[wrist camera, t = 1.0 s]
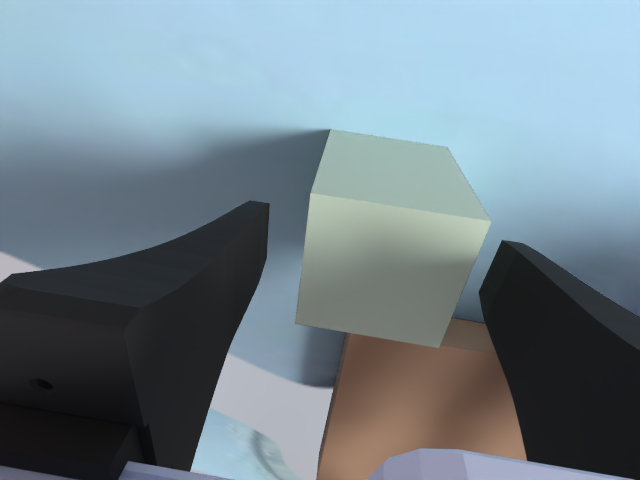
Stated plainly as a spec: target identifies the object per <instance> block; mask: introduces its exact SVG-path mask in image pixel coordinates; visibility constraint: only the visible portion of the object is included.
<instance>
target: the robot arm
mask: <svg viewBox="0 0 640 480" xmlns="http://www.w3.org/2000/svg"><path fill="white" fill-rule="evenodd" d="M268 221H269V203H263V202H256V201H248V202H246V203H244V204H242V205H241V206H239V207H237V208H235V209H234V210H232V211H230V212H228V213H227V214H225V215H223V216H221V217H220V218H218V219H216V220H214V221H212V222H211V223H208V224H206V225H204V226H202V227H200V228H198V229H196V230H194V231H192V232H190V233H188V234H186V235H184V236H181V237H179V238H176V239H174V240H171V241H169V242H166V243H163V244H161V245H158V246H155V247H152V248H149V249H145V250H142V251H138V252H135V253H131V254H127V255H124V256H120V257H116V258H112V259H108V260H103V261H98V262H93V263H88V264H83V265H77V266H71V267H65V268H57V269H49V270H41V271H33V272H26V273H16V274H11V275H10V276H9V277H7V278H6V279H5V280H3V281H2V282H1V283H0V480H233V479H227V478H221V477H216V476H210V475H204V474H198V473H192V472H190V470H191V466H192V463H193V459H194V456H195V452H196V449H197V446H198V442H199V439H200V436H201V433H202V429H203V426H204V423H205V420H206V416H207V413H208V410H209V407H210V403H211V400H212V397H213V394H214V391H215V388H216V385H217V382H218V379H219V376H220V373H221V370H222V367H223V364H224V361H225V358H226V355H227V352H228V350H229V347H230V345H231V342H232V340H233V337H234V335H235V333H236V331H237V329H238V327H239V325H240V323H241V320H242V318H243V316H244V314H245V312H246V310H247V308H248V305H249V303H250V301H251V299H252V297H253V295H254V293H255V290H256V288H257V286H258V284H259V281H260V278H261V275H262V271H263V268H264V265H265V261H266V258H267V239H268ZM479 296H480V302H481V307H482V312H483V316H484V320H485V323H486V326H487V329H488V332H489V335H490V337H491V340H492V343H493V346H494V348H495V351H496V353H497V356H498V359H499V361H500V364H501V367H502V369H503V372H504V375H505V377H506V380H507V383H508V386H509V389H510V392H511V395H512V398H513V402H514V406H515V410H516V414H517V418H518V422H519V426H520V430H521V435H522V439H523V444H524V449H525V453H526V458H527V461H523V460H517V459H512V458H506V457H500V456H494V455H488V454H482V453H476V452H471V451H465V450H459V449H417V450H413V451H410V452H407V453H403V454H400V455H397V456H393V457H390V458H388V459H387V460H386V461H385V462H383V463H382V464H381V465H380V466H379V467H378V468H377V469H376V470H375V471H374V473H373V474H372V475H371V476H370V477H369V478H368V479H367V480H640V317H638V316H637V315H635V314H633V313H631V312H630V311H628V310H626V309H624V308H623V307H621V306H619V305H618V304H616V303H615V302H613V301H611V300H610V299H608V298H607V297H605V296H603V295H602V294H600V293H599V292H597V291H595V290H594V289H592V288H591V287H589V286H588V285H586V284H585V283H583V282H582V281H580V280H579V279H577V278H576V277H574V276H573V275H571V274H570V273H569V272H567V271H566V270H564V269H563V268H561V267H560V266H558V265H557V264H555V263H554V262H552V261H551V260H549V259H548V258H546V257H545V256H543V255H542V254H540V253H539V252H537V251H536V250H534V249H532V248H531V247H529V246H527V245H525V244H523V243H518V242H511V241H505V240H502V241H501V244H500V246H499V248H498V250H497V253H496V255H495V257H494V259H493V261H492V264H491V266H490V268H489V270H488V273H487V275H486V277H485V279H484V281H483V284H482V286H481V288H480V290H479Z"/></svg>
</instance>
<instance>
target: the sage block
mask: <svg viewBox="0 0 640 480" xmlns="http://www.w3.org/2000/svg"><path fill="white" fill-rule="evenodd" d="M491 222H492V221H491V219H490V218H489V216H488V214H487V213H486V211H485V209H484V208H483V206H482V204H481V203H480V201H479V199H478V198H477V196H476V194H475V193H474V191H473V189H472V188H471V186H470V184H469V182H468V181H467V179H466V177H465V176H464V174H463V172H462V171H461V169H460V167H459V166H458V164H457V162H456V161H455V159H454V157H453V156H452V154H451V152H450V151H449V149H448V147H444V146H437V145H431V144H424V143H418V142H411V141H405V140H398V139H391V138H385V137H378V136H372V135H365V134H359V133H352V132H345V131H339V130H332V129H331V130H330V133H329V136H328V140H327V143H326V146H325V149H324V152H323V155H322V158H321V162H320V165H319V168H318V171H317V174H316V177H315V180H314V184H313V187H312V190H311V193H310V202H309V210H308V219H307V227H306V236H305V244H304V253H303V261H302V270H301V278H300V287H299V295H298V304H297V312H296V321H295V324H300V325H306V326H311V327H317V328H323V329H329V330H335V331H341V332H347V333H353V334H359V335H365V336H371V337H377V338H383V339H389V340H395V341H401V342H406V343H412V344H418V345H424V346H430V347H436V348H439V346H440V344H441V341H442V339H443V337H444V334H445V332H446V329H447V327H448V325H449V322H450V320H451V318H452V315H453V313H454V310H455V308H456V306H457V303H458V301H459V298H460V296H461V294H462V291H463V289H464V286H465V284H466V282H467V279H468V277H469V275H470V272H471V270H472V267H473V265H474V263H475V260H476V258H477V255H478V253H479V251H480V248H481V246H482V244H483V241H484V239H485V236H486V234H487V232H488V229H489V227H490V224H491Z"/></svg>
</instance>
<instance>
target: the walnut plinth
mask: <svg viewBox="0 0 640 480" xmlns="http://www.w3.org/2000/svg"><path fill="white" fill-rule="evenodd" d="M417 449H459V450H465V451H471V452H476V453H482V454H488V455H494V456H500V457H506V458H512V459H517V460H523V461H527V458H526V453H525V449H524V444H523V439H522V435H521V430H520V426H519V422H518V418H517V414H516V410H515V406H514V402H513V398H512V395H511V392H510V389H509V386H508V383H507V380H506V377H505V375H504V372H503V369H502V367H501V364H500V361H499V359H498V356H497V353H496V351H495V348H494V346H493V343H492V340H491V337H490V335H489V332H488V329H487V326H486V323H480V322H474V321H468V320H462V319H456V318H451V320H450V322H449V325H448V327H447V329H446V332H445V334H444V337H443V339H442V341H441V344H440V346H439V348H436V347H430V346H424V345H418V344H412V343H406V342H401V341H395V340H389V339H383V338H377V337H371V336H365V335H359V334H353V333H347V332H346V335H345V339H344V344H343V348H342V353H341V357H340V362H339V366H338V371H337V375H336V380H335V384H334V389H333V393H332V398H331V403H330V407H329V411H328V416H327V421H326V425H325V430H324V434H323V439H322V443H321V448H320V452H319V461H318V471H317V480H367V479H368V478H369V477H370V476H371V475H372V474H373V473H374V471H375V470H376V469H377V468H378V467H379V466H380V465H381V464H382V463H383V462H385V461H386V460H387V459H388V458H390V457H393V456H397V455H400V454H403V453H407V452H410V451H413V450H417Z"/></svg>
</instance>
